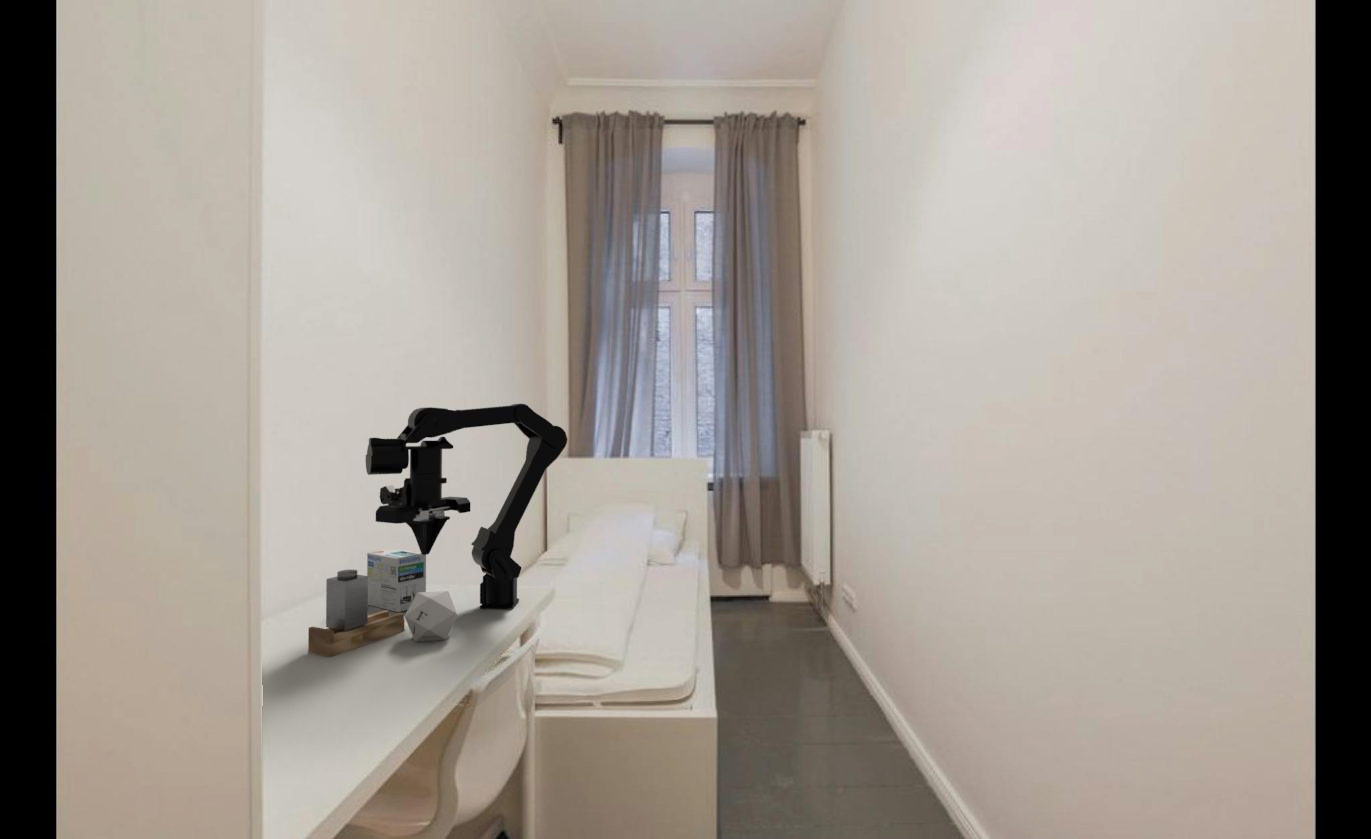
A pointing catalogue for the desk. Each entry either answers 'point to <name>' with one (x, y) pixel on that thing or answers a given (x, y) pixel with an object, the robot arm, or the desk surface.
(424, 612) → the die
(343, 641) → the beam
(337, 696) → the desk surface
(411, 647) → the desk surface
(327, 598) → the square grey bottle
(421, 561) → the light bulb box
